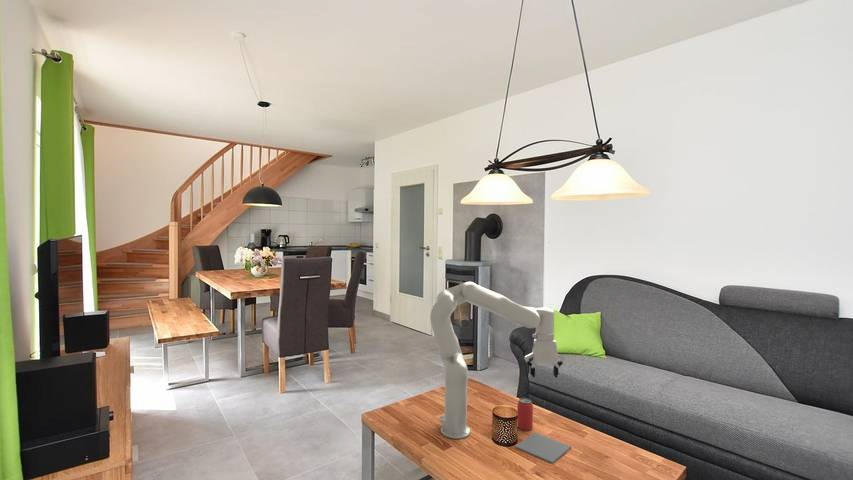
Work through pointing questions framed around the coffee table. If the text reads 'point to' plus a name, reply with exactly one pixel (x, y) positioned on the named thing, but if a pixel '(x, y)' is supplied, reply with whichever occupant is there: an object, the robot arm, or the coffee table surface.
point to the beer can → (525, 414)
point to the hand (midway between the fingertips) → (544, 376)
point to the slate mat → (543, 447)
